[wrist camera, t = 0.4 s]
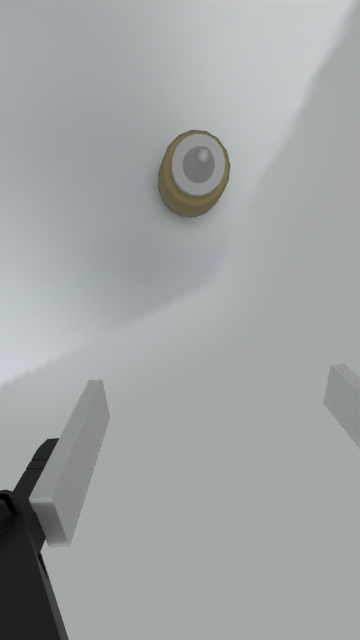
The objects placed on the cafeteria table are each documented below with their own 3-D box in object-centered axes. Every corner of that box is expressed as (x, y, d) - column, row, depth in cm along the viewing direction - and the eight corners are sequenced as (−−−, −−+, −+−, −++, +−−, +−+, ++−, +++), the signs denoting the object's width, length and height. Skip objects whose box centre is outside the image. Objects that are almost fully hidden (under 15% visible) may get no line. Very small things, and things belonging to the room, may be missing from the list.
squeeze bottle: (193, 229, 37) (210, 238, 21) (147, 192, 35) (124, 168, 19) (230, 179, 35) (283, 143, 18) (183, 136, 33) (193, 52, 16)
